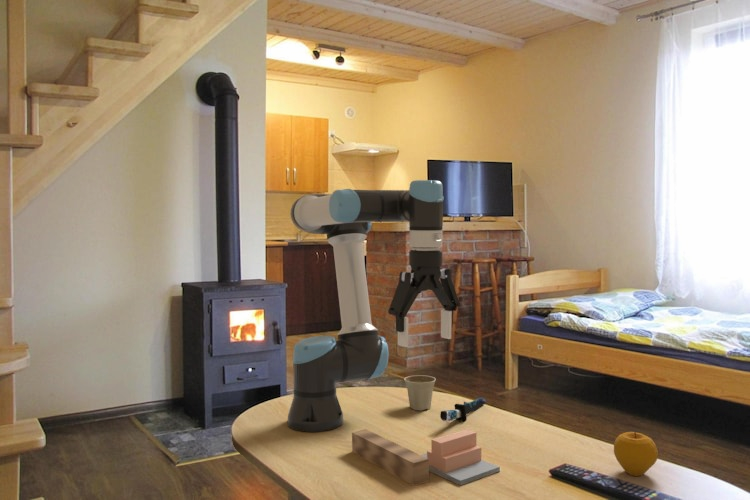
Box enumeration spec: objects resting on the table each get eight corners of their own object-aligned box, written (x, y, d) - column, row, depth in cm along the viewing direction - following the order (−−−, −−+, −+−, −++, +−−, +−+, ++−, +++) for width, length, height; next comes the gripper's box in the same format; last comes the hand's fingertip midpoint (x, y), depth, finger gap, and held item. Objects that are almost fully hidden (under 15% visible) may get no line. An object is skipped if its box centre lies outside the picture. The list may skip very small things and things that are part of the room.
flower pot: (402, 403, 191) (401, 375, 190) (432, 402, 192) (432, 374, 191) (407, 413, 181) (406, 383, 181) (439, 411, 182) (438, 382, 182)
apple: (667, 478, 133) (668, 437, 133) (632, 484, 131) (632, 441, 130) (638, 463, 142) (638, 424, 142) (604, 468, 139) (604, 428, 139)
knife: (444, 428, 163) (445, 411, 164) (433, 426, 165) (434, 409, 165) (493, 411, 188) (494, 396, 188) (484, 410, 190) (485, 395, 190)
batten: (352, 453, 151) (351, 432, 151) (366, 449, 153) (365, 429, 153) (414, 486, 131) (413, 463, 131) (428, 482, 134) (428, 458, 133)
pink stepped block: (410, 462, 144) (410, 432, 143) (448, 450, 151) (448, 421, 151) (460, 485, 131) (460, 452, 131) (499, 471, 138) (499, 439, 138)
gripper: (395, 252, 131) (394, 352, 133) (475, 247, 147) (474, 337, 148) (372, 250, 137) (372, 346, 138) (452, 246, 153) (451, 332, 154)
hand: (425, 342), depth 143 cm, fingers open, 13 cm apart
